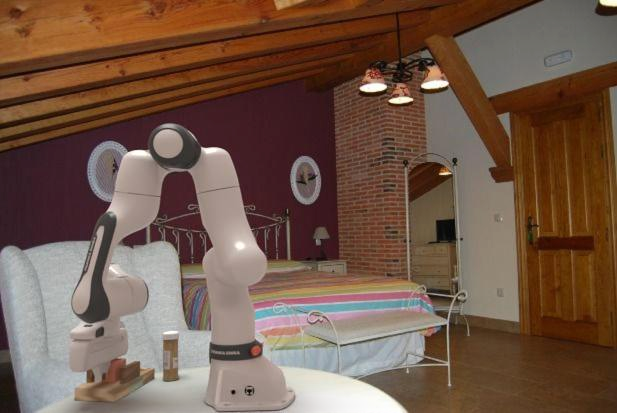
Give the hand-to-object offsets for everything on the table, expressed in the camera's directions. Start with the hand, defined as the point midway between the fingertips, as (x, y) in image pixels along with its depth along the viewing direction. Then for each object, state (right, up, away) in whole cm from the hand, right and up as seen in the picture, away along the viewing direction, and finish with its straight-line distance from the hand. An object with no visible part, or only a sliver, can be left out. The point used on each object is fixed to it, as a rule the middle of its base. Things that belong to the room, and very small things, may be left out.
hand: (100, 380), depth 118 cm
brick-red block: (+1, -2, +5) cm, 5 cm away
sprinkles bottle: (+13, -5, +15) cm, 21 cm away
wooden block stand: (+1, -5, +7) cm, 8 cm away
